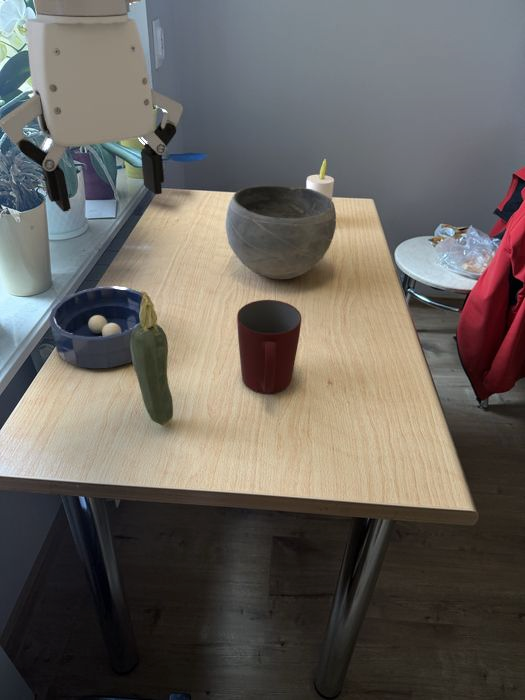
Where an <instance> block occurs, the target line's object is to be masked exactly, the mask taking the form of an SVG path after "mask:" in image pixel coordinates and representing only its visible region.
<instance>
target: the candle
mask: <svg viewBox="0 0 525 700" xmlns="http://www.w3.org/2000/svg"><path fill="white" fill-rule="evenodd" d="M326 173H327V159H326V158H324V160H323V161H322V164H321V167H320V170H319V174H312V175H309V176H307V177H306V187H305V188H308V189H312V190H315V191H318V192H320V193H321V194H323V195H325V196H327V197H328V198H330V199H331V200H332V201H333V196H334V195H333V194H334V187H335V186H334V185H335V179H334V178H333V177H332V176H330V175H326Z"/></svg>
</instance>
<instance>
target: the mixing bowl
mask: <svg viewBox="0 0 525 700" xmlns="http://www.w3.org/2000/svg"><path fill="white" fill-rule="evenodd" d="M150 301H151V302H152V305H153V307H154V308H155V305H154V304H153V301H152V300H151V299H150ZM141 302H142V293H141V291H139V290H136V289H133V288H130V287H123V286H98V287H92V288H87V289H84V290H80V291H78V292H74V293H71V294H70V295H68V296H66V297H64V298H62V299H61V300H60V301H58V302H57V303H56V305H55V306H53V308H52V309H51V311H50V314H49V316H48V320H49V325H50V328H51V332H52V336H53V340H54V344H55V348H56V352H57V355H58V356H60V357H61V358H62V359H63V361H65V362H67V363H69V364H71V365H73V366H76V367H81V368H87V369H88V368H89V369H109V368H113V367H118V366H123V365H126V364H129V363H131V362H132V356H131V348H130V340H131V335H132V332H133V330H134V329H135V327H136V326H137V325H138V324H140V318H139V313H140V307H141V305H140V304H141ZM95 315H100V316H103V317H104V318H105V319H106V320H107V323H108V324H109V323H115V324H117V325H118V326H119V327H120V328H121V331H122V332H121V333H118V334H113V335H109V336H103V335H102V333H100V334H96V333H93V332H92V331H91V330H90V329H89V326H88V322H89V320H90V318H91V317H93V316H95Z"/></svg>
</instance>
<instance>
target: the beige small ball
mask: <svg viewBox="0 0 525 700" xmlns="http://www.w3.org/2000/svg"><path fill="white" fill-rule="evenodd" d="M106 324H108V323H107V320H106V319H105V318H104V317H103V316H100V315H95V316H93V317H91V318H90V320H89V322H88V326H89V329H90V330H91V331H92V332H93V333H96V334H100V333H102V329H103V327H104V326H105V325H106Z"/></svg>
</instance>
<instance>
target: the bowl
mask: <svg viewBox="0 0 525 700" xmlns="http://www.w3.org/2000/svg"><path fill="white" fill-rule="evenodd" d="M336 220H337V212H336V206H335V204H334V201H333V199H332V200H331V199H330V198H328V197H327V196H325V195H323V194H321V193H320V192H318V191H315V190H312V189H308V188H306V187H303V186H293V185H282V184H280V185H278V184H262V185H254V186H248V187H244V188H243V187H242V188H241V189H239V190H237V191H236V192H234V194H233V195H232V196H231V199H230V202H229V204H228V206H227V211H226V216H225V233H226V237H227V242H228V244H229V246H230V247H229V248H230V249H231V250H232V252H233V253H234V255H235V256H236V258H237V260H239V261H240V262H241V263H242V264H243V266H245V267H246V268H247V269H248V270H251V271H252V272H253V273H256V274H258V275H259V276H263V277H265V278H268V279H270V280H271V279H272V280H290V279H295V278H297V277H299V276H302V275H304V274H306V273H307V272H309V271H311V270H312V269H313V268H314V267H315V266H316V265H318V263H320V261H321V260H322V259H323V258H324V257H325V255H326V253H327V252H328V251H329V248H330V246H331V245H332V242H333V239H334V236H335V231H336V226H337V221H336Z"/></svg>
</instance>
